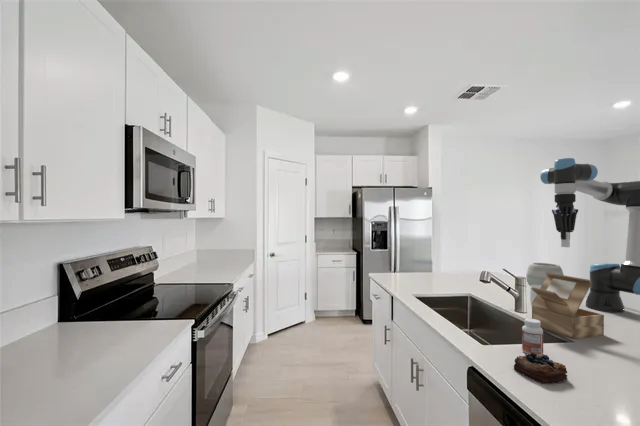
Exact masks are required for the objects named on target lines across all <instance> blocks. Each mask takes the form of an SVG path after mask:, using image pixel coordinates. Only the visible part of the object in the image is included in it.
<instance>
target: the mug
mask: <svg viewBox="0 0 640 426" xmlns="http://www.w3.org/2000/svg"><path fill="white" fill-rule="evenodd" d="M541 286H542V285H532V286H530V285H529V299H530V305H531V304H532V302H533V300H534V299H535V297H536V295H537V294H536V293H535V292H534V291H533V290H532V289H531V288H532V287H533V288H538V289H540V288H541ZM532 306H533V305H531V307H532Z"/></svg>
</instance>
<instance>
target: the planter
mask: <svg viewBox="0 0 640 426" xmlns="http://www.w3.org/2000/svg"><path fill="white" fill-rule="evenodd" d="M563 271H564V270H563V269H562V267H561V265H559V264H555V263H549V262H531V263H529V265H528V267H527V269H526V277H525V278H526V282H527V284H528V285H529V287H530V286H532V285H542V284H543V283H544V281H545V279H546V277H547V276H548V275H547V274H546V272H548V273H553V274H559V275H564V272H563Z"/></svg>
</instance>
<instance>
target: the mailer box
mask: <svg viewBox="0 0 640 426" xmlns="http://www.w3.org/2000/svg"><path fill="white" fill-rule="evenodd" d="M604 317H605V316H604V314H603V313H598V312H594V311H590V310H586V309H583V308H580V307H579V308H578V310H577V312H576V314H575V316H574V317H570V316H567V315H563V314H560V313H557V312H553V311H550V310H546V309H543V308H539V307H536V306H531V319H536V320H539V321H540V322H541V325H540V328H542V329H543V330H544V329H545V330H548V331H551V332H553V333H555V334H558V335H561V336H564V337H568V338H570V339H573V340H575V339H583V338H584V337H585V338H590V337H599V336H600V337H601V336H604V335H605V333H604V332H605V330H604V329H605V324H604V323H605V318H604Z"/></svg>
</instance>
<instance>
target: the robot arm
mask: <svg viewBox="0 0 640 426" xmlns="http://www.w3.org/2000/svg"><path fill="white" fill-rule="evenodd" d="M553 164H554V166H553V167H550V168H546V169H543V170H542V171H541V172H540V181H541V182H542V183H543V184H545V185H552V184H553V185H554V193H555V194H554V202H555V204H556V206H555V208H554V209H552V210H551V212H552V213H551V214H552V215H553V218H554V224H555V229H556V231H557V232H558V233H560V243H561V245H560V247H561V248H570V247H571V233H573V232H574V231H575V228H576V227H575V226H576V221H577V215H578V213H579V209H578V208H575V206H574V203H575V202H576V201H577V199H576V194H575V193H576V192H580V193H583V194H585V195H589V196H592V197H593V199H595V200H598V201H600V202H604V203H608V204H610V205H616V206H625V209H626V210H627V211H628V212H629V214H628V223H627V224H628V225H627V226H628V227H627V239H626V251H625V260H624V261H622V262H621V263H593V264H591V265H590V268H589V280H590V281H591V282H592V284H591V286H590V288H589V293H588V296H587V297H586V301H585V307H586V308H589V309H592V310H596V311H601V312H608V313H624V312H625V305H624V303H623V300H622V297H621V295H620V294H621V293H620V292H623V293H629V294H634V295H637V296H640V180H636V181H623V182H608V181H599V180H595V178H596V177H597V176H598V172H599V170H598V168H597V166H596V165H594V164H592V163H591V164H589V163H576V160H575V158H574V157H573V158H572V157H566V158H564V157H563V158H557V159H556V160H554V163H553ZM623 309H624V310H623Z"/></svg>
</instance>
